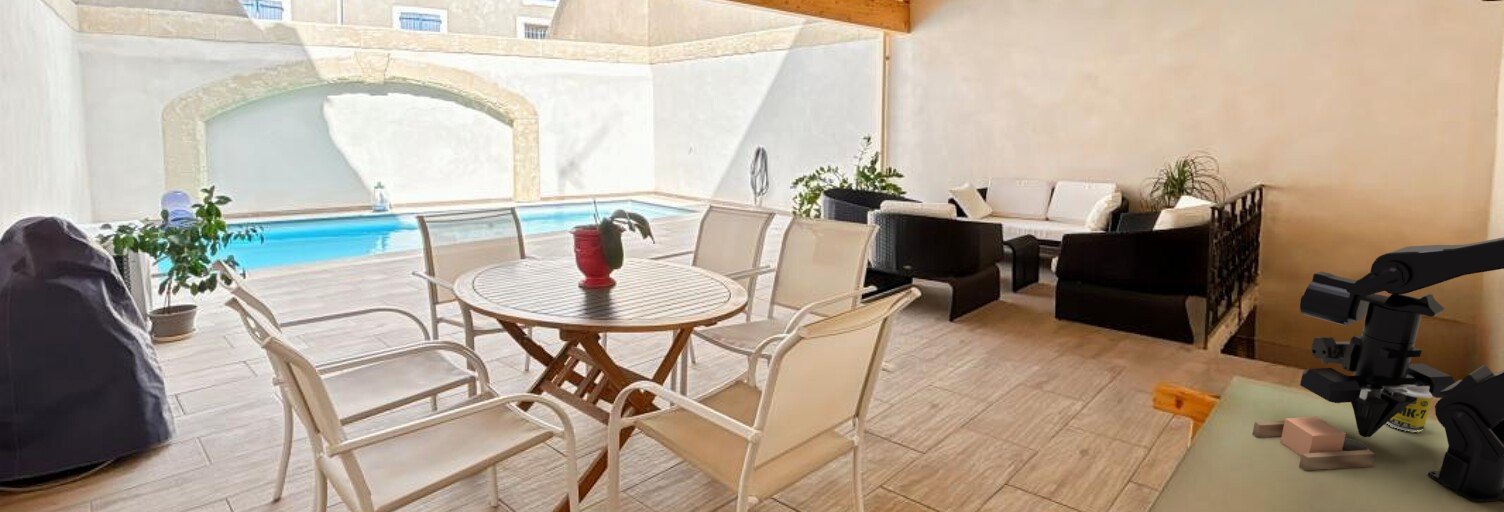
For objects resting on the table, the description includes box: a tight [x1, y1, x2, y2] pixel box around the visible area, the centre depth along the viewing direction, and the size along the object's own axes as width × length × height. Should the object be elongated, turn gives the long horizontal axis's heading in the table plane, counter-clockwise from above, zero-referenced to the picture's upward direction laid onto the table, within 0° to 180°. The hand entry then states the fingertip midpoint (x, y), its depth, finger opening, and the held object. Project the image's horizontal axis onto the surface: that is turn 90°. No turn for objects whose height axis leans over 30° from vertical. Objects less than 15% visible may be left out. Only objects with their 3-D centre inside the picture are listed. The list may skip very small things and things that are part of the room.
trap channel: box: [1252, 419, 1376, 471], centre depth 109 cm, size 13×10×2 cm
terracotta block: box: [1280, 416, 1347, 456], centre depth 108 cm, size 5×5×4 cm
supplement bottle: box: [1385, 386, 1434, 432], centre depth 114 cm, size 5×5×8 cm
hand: (1364, 435), depth 109 cm, fingers closed
